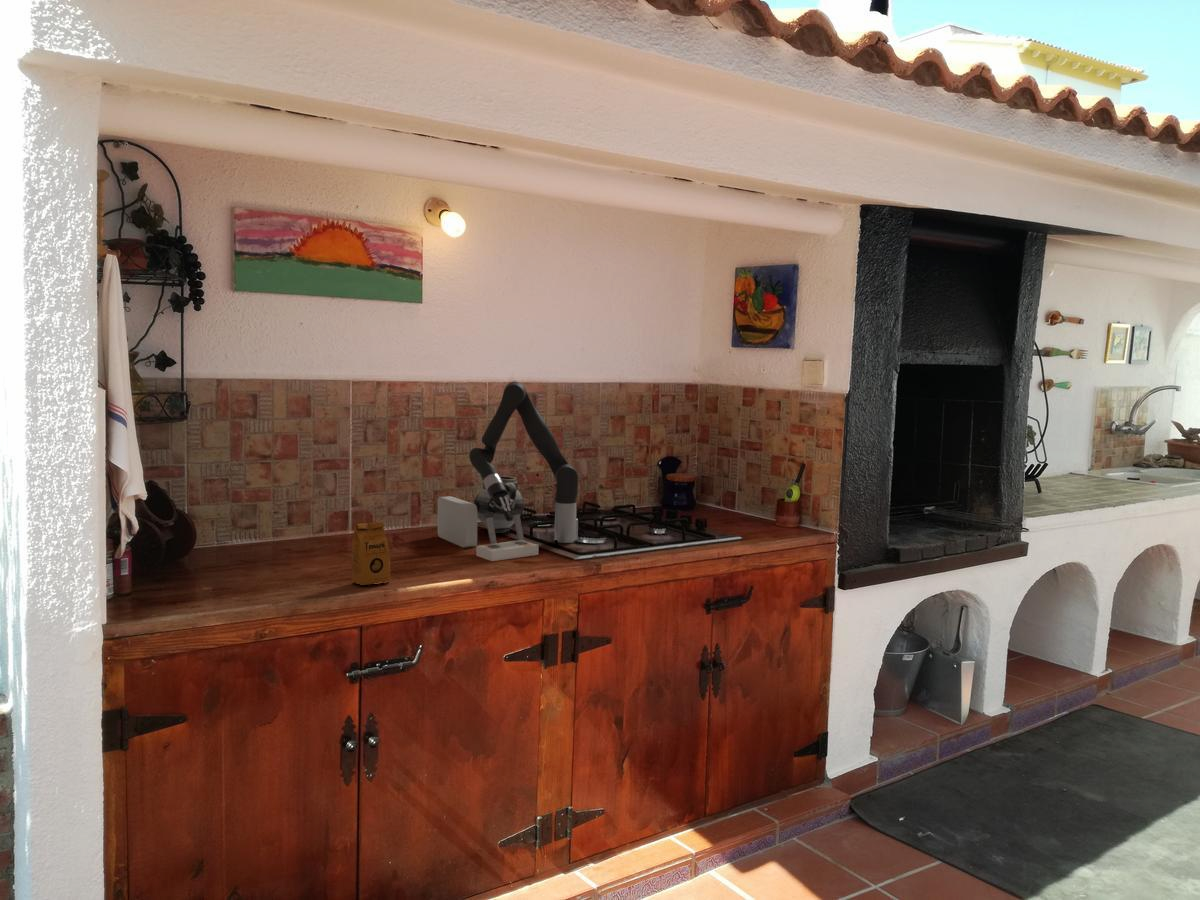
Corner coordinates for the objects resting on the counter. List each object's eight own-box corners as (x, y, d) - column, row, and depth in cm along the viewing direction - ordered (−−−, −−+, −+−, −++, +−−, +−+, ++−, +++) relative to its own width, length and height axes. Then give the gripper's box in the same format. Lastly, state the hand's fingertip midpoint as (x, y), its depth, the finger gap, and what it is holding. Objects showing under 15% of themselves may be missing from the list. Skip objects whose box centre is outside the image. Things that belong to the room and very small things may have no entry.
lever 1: (495, 543, 387) (489, 513, 389) (498, 542, 385) (493, 511, 387) (488, 544, 385) (483, 513, 387) (492, 543, 383) (486, 512, 385)
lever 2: (522, 540, 395) (516, 510, 397) (525, 539, 393) (520, 509, 395) (516, 541, 393) (510, 511, 395) (519, 539, 391) (514, 509, 393)
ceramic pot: (461, 527, 445) (462, 474, 442) (505, 523, 458) (505, 471, 455) (491, 538, 421) (492, 482, 419) (536, 533, 434) (537, 478, 432)
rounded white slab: (482, 546, 405) (482, 504, 403) (465, 548, 400) (465, 505, 398) (453, 535, 428) (453, 494, 426) (437, 536, 424) (437, 496, 422)
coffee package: (393, 584, 339) (393, 523, 336) (358, 589, 332) (358, 526, 330) (383, 578, 347) (382, 518, 345) (349, 582, 340) (348, 521, 338)
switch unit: (522, 549, 401) (522, 538, 401) (538, 554, 392) (538, 543, 391) (476, 555, 388) (476, 544, 387) (492, 561, 378) (492, 550, 378)
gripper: (484, 482, 400) (500, 516, 392) (511, 480, 409) (527, 513, 400) (478, 493, 405) (493, 527, 397) (505, 491, 413) (520, 523, 405)
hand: (510, 520), depth 399 cm, fingers closed
